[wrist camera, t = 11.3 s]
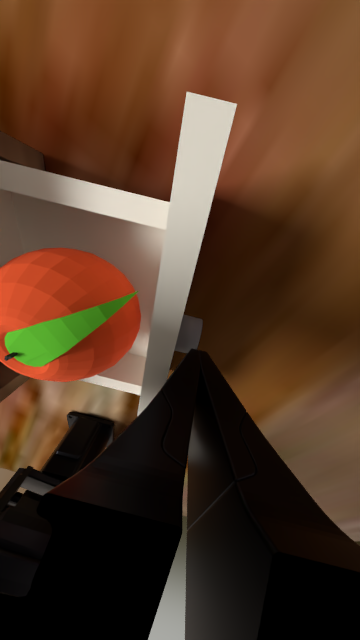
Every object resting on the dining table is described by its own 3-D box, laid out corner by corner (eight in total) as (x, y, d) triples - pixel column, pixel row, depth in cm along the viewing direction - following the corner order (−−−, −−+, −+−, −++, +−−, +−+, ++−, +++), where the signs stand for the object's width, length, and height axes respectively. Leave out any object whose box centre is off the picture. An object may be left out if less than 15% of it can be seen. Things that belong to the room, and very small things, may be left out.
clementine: (134, 215, 9) (3, 169, 3) (182, 314, 12) (162, 398, 6) (44, 270, 12) (-138, 309, 5) (100, 344, 14) (22, 428, 8)
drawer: (178, 378, 16) (165, 462, 10) (43, 345, 16) (-51, 409, 10) (233, 197, 9) (297, 118, 3) (-6, 138, 9) (-405, -56, 3)
